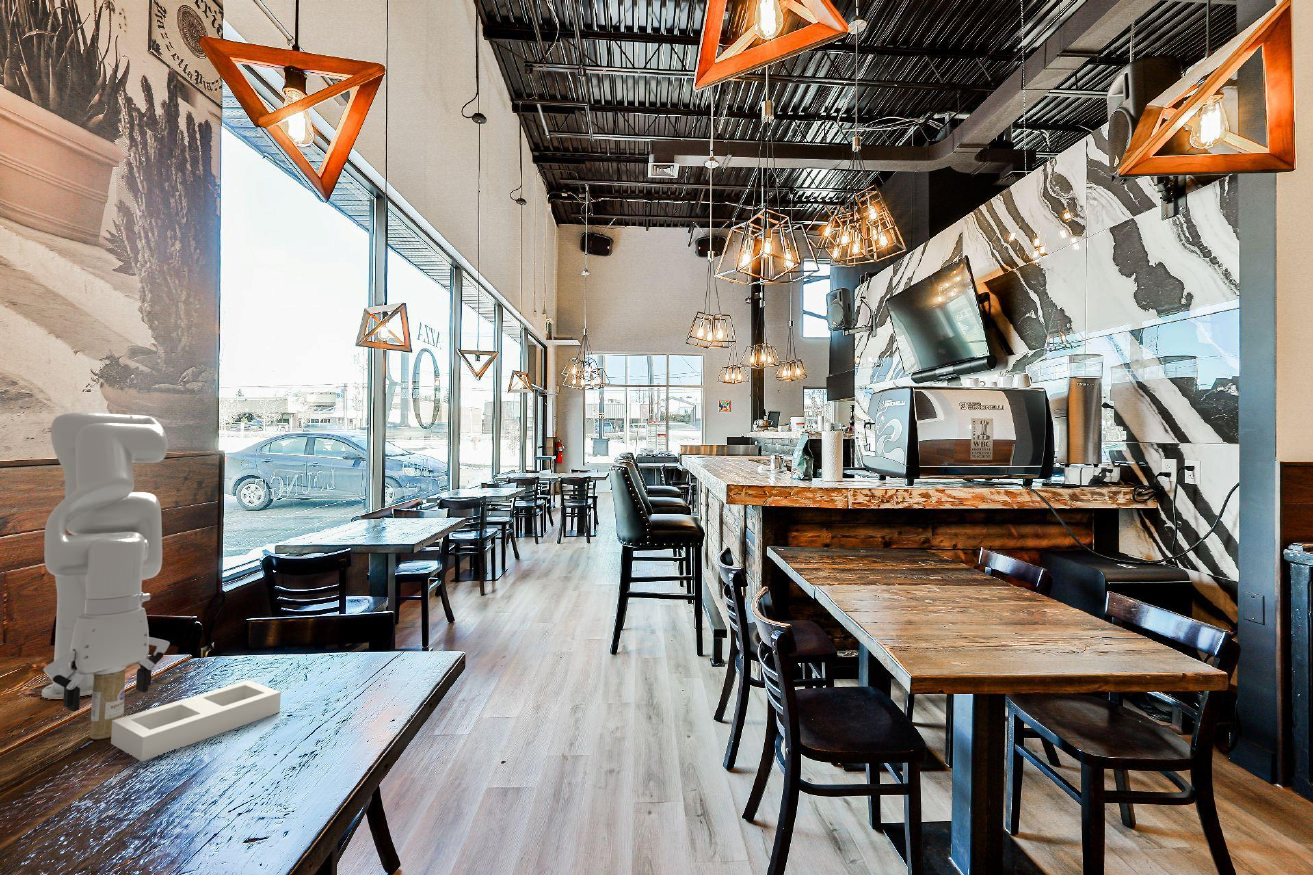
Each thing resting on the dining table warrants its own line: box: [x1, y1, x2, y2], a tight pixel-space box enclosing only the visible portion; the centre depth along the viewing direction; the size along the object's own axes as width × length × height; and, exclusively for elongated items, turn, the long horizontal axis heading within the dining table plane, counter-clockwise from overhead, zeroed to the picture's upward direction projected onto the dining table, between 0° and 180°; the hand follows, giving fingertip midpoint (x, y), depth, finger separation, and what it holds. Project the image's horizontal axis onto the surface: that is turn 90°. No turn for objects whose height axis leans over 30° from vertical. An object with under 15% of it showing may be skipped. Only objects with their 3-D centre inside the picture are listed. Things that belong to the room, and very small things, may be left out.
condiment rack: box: [110, 680, 282, 762], centre depth 109 cm, size 12×22×4 cm, turn 152°
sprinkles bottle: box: [89, 665, 128, 740], centre depth 106 cm, size 5×5×14 cm
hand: (108, 700), depth 106 cm, fingers open, 9 cm apart
